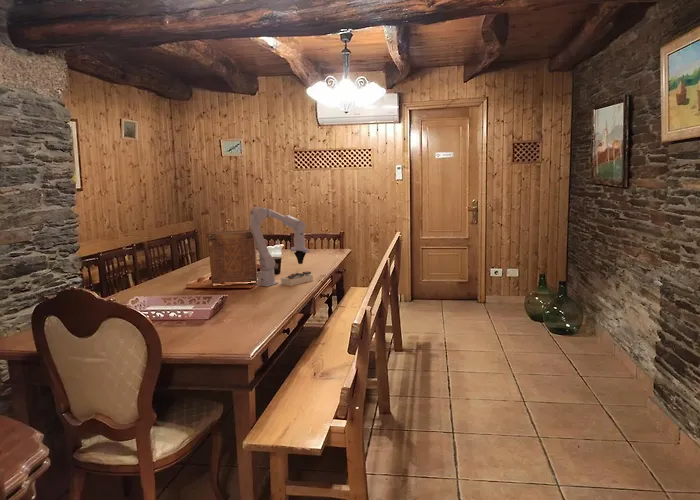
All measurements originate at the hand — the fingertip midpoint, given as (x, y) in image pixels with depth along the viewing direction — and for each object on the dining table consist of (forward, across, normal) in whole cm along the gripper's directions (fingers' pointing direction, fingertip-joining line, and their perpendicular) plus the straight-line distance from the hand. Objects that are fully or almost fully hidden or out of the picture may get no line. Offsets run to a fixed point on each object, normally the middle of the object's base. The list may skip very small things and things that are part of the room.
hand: (300, 263), depth 302 cm
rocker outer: (+5, -6, 0) cm, 8 cm away
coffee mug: (+10, +28, -1) cm, 30 cm away
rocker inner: (+5, -6, +11) cm, 14 cm away
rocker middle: (+5, -6, +6) cm, 10 cm away
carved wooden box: (+10, +23, +30) cm, 39 cm away
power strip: (+9, -4, +6) cm, 12 cm away
